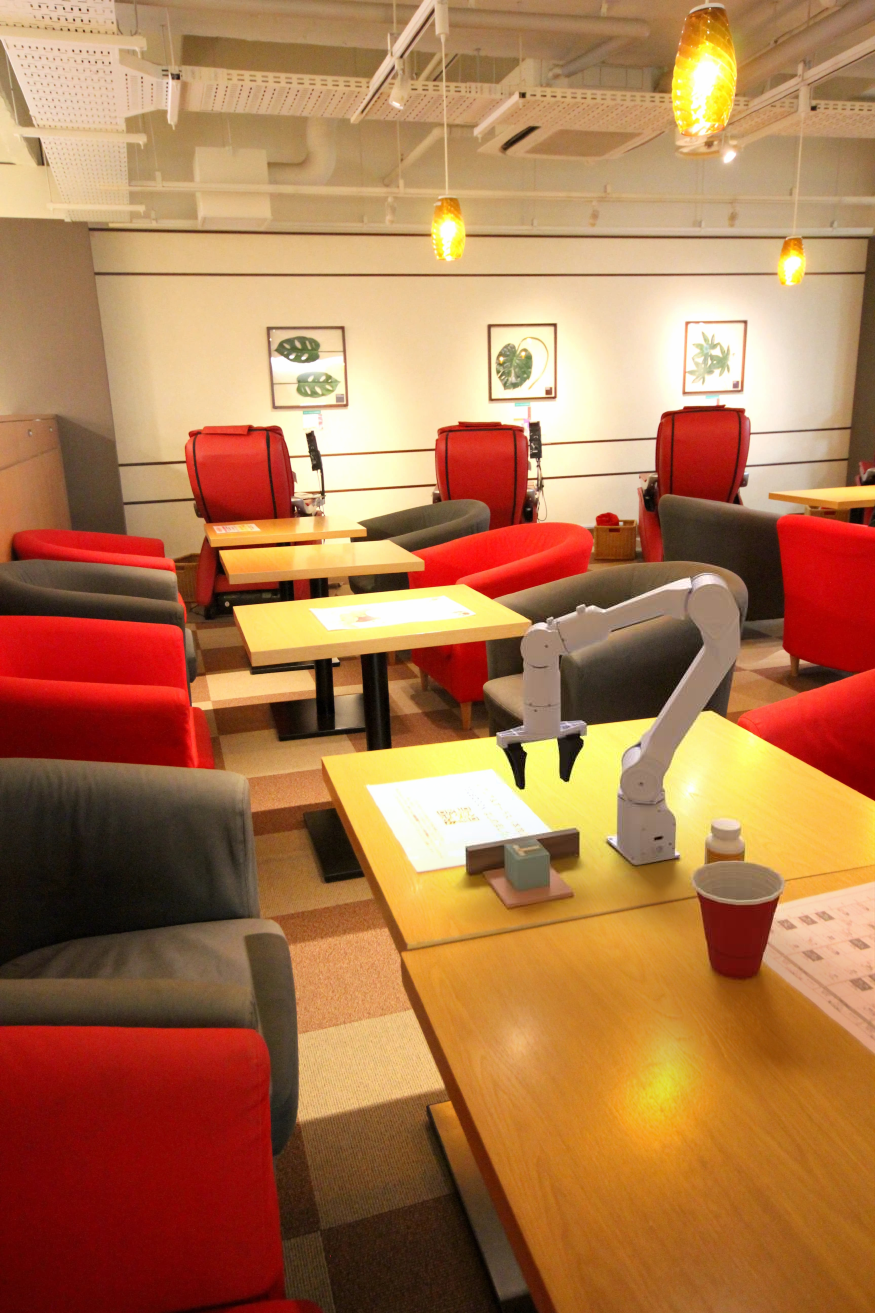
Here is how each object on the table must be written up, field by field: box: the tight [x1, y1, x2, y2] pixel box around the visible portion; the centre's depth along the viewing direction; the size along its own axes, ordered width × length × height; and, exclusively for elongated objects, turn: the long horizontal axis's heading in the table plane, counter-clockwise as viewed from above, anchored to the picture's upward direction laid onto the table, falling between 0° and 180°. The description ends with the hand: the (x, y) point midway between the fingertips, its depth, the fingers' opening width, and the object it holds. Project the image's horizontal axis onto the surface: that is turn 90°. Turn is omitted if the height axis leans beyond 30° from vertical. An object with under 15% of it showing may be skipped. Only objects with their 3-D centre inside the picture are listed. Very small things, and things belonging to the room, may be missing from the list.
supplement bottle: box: [703, 817, 746, 865], centre depth 128 cm, size 5×5×10 cm
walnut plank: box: [465, 827, 581, 876], centre depth 138 cm, size 2×18×4 cm, turn 107°
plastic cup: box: [690, 860, 787, 980], centre depth 110 cm, size 11×11×12 cm
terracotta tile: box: [483, 865, 575, 909], centre depth 132 cm, size 10×10×1 cm
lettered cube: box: [504, 839, 551, 892], centre depth 131 cm, size 5×5×5 cm
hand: (542, 783), depth 143 cm, fingers open, 7 cm apart
